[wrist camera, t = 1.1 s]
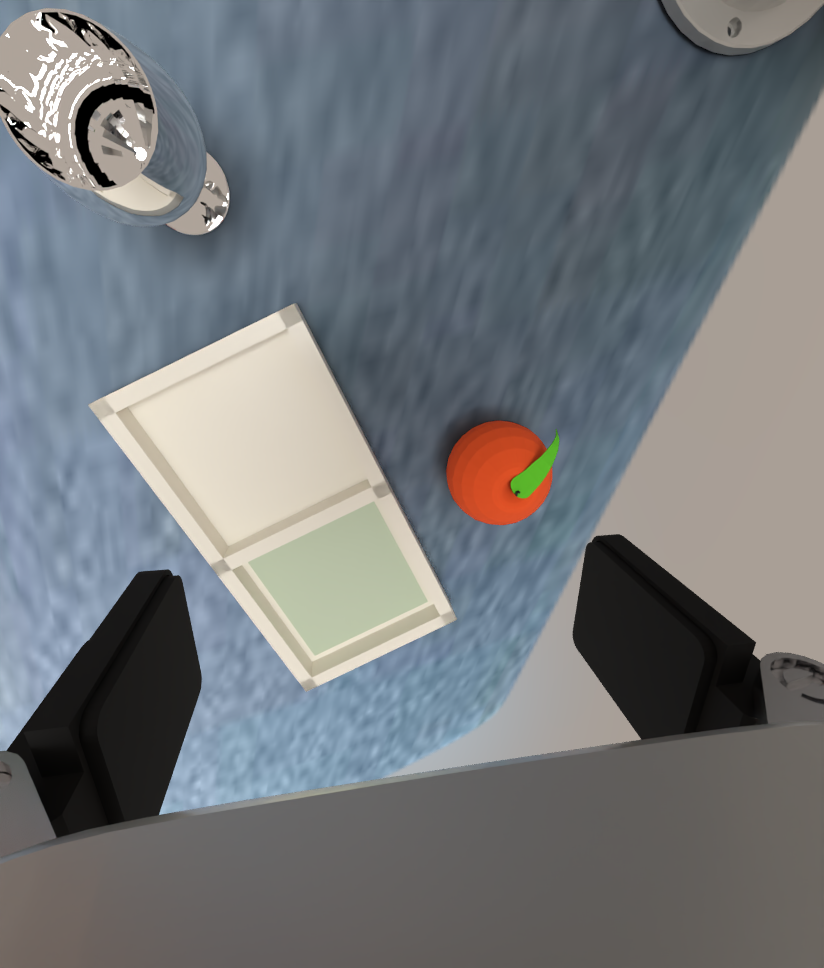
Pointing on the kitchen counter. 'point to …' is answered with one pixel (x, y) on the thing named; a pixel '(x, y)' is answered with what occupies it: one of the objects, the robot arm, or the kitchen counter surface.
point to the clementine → (500, 472)
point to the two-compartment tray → (282, 496)
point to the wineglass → (107, 124)
